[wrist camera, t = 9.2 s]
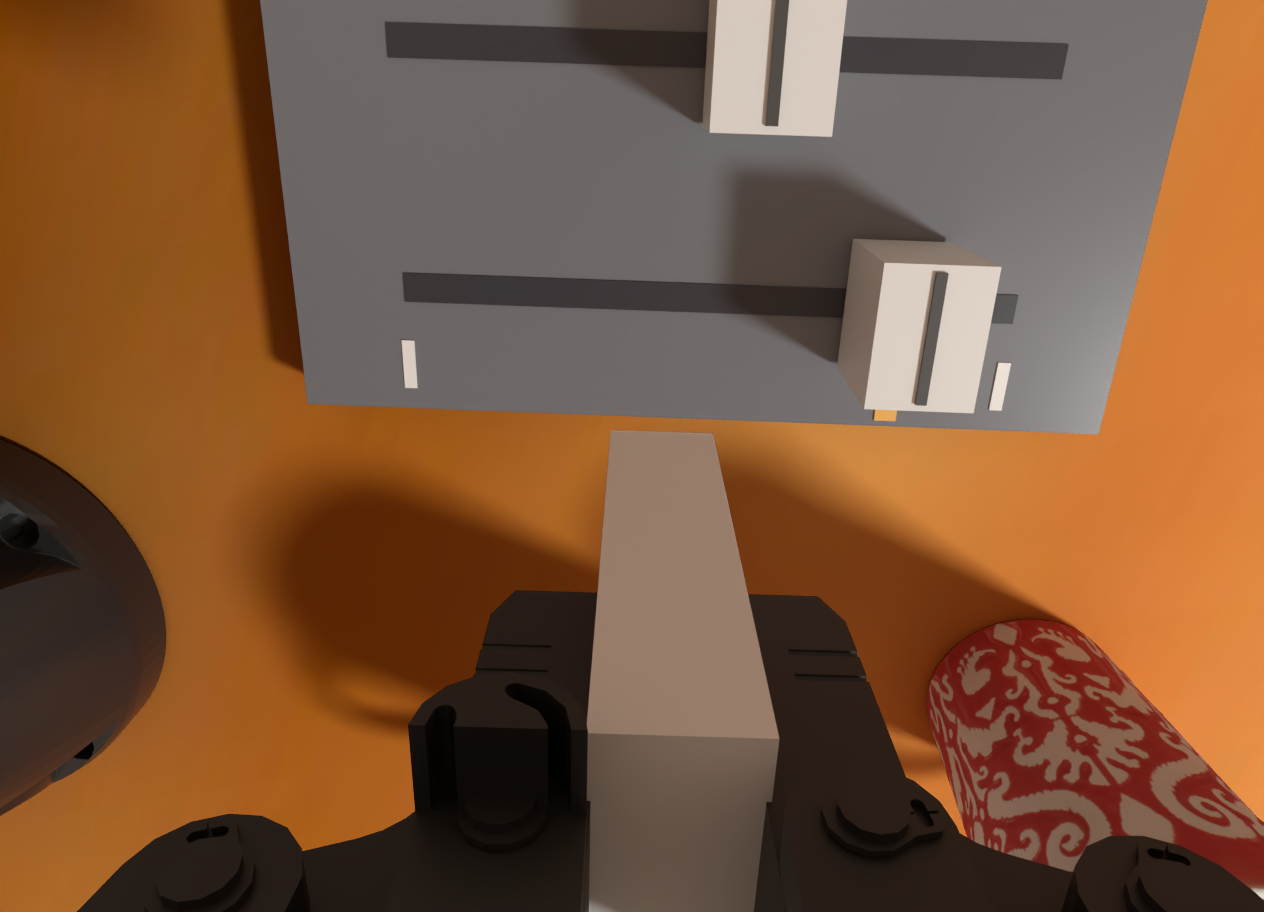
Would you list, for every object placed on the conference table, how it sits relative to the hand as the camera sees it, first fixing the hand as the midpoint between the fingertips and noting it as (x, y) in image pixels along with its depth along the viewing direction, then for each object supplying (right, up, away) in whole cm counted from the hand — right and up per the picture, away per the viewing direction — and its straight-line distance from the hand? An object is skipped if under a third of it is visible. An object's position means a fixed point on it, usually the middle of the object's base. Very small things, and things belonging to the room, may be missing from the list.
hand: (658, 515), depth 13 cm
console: (+2, +10, +15) cm, 18 cm away
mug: (+15, -10, +23) cm, 29 cm away
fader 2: (+8, +5, +14) cm, 17 cm away
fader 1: (+3, +12, +11) cm, 17 cm away
